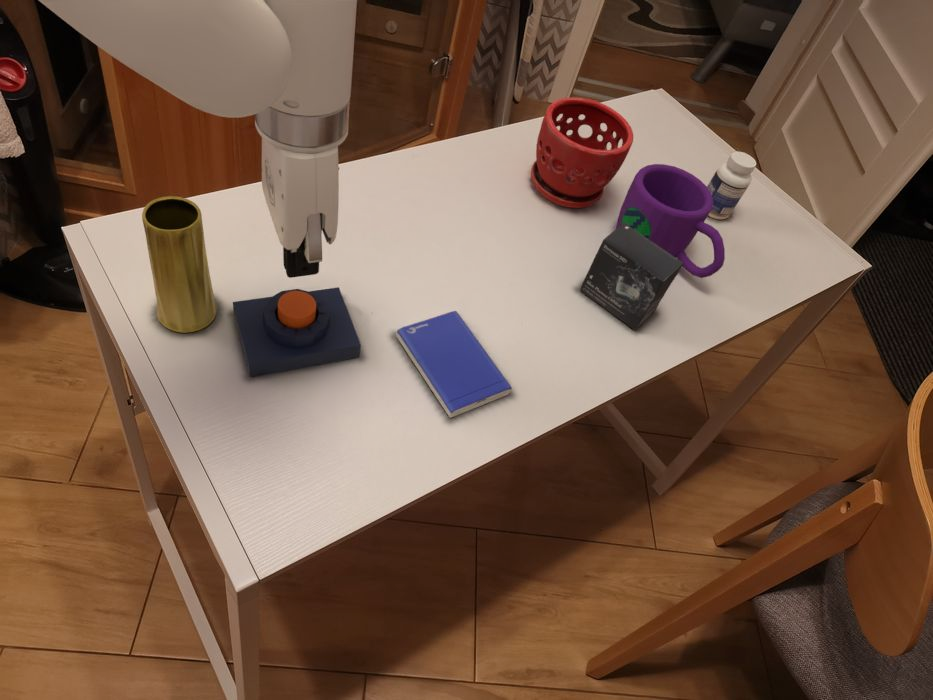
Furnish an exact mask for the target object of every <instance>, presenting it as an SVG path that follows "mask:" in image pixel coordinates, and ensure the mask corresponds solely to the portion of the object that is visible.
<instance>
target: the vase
mask: <svg viewBox="0 0 933 700" xmlns="http://www.w3.org/2000/svg"><path fill="white" fill-rule="evenodd" d="M202 216H203V215H202V211H201V209H200V208H199V206H198V205H197V203H195V201H192V200H190V199H188V198H185V197H182V196H175V195H174V196H173V195H168V196H167V195H166V196H162V197H161V196H160V197H158V198H155V199H152V200H150V201H149V202H148V203H147V204H146V205H145V206H144V207H143V210H142V213H141V220H142V224H143V227H144V228H143V229H144V234H145V239H146V245H147V251H148V257H149V264H150V269H151V274H152V280H153V287H154V293H155V298H156V305H157V309H156V315H157V319H158V321H159V322H160V323H161V325H163V326H164V327H165V328H166V329H168V330H170V331H173V332H177V333H183V334H185V333H186V334H187V333H192V332H198V331H200V330H203V329H205V328H206V327H208V326H209V325H211V324H212V322H213V321H214V320H215V318H216V316H217V304H216V301H215V297H214V296H215V295H214V291H213V290H214V289H213V284H212V278H211V273H210V267H209V261H208V255H207V248H206V242H205V232H204V226H203V217H202Z"/></svg>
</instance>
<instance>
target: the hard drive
mask: <svg viewBox="0 0 933 700" xmlns="http://www.w3.org/2000/svg"><path fill="white" fill-rule="evenodd" d="M457 311H458V310H452V311H450V312H445V313H443V314H440V315H437V316H434V317H431V318H428V319H425V320H422V321H417V322H415V323H412V324H408V325H406V326H402V327H399V328H397V330H396V334H395V336H396V339H397V340H398V341H399V342H400V344H401V346H402V347H403V349H404V350H405V351H406V353H407V355H408V357H409V358H410V360H411V361H412V363H413V364H414V365H415V367H416V368H417V370H418V372H419V373H420V375H421V376H422V378H423V379H424V381H425V383H426V384H427V385H428V387H429V389H430V390H431V391H432V393H433V395H434V396H435V398H436V399H437V401H438V402H439V404H440V405H441V407H442V408H443V410H444V411H445V413H446V414H447V416H448V417H449V419H451V418H454V417H456V416H459V415H461V414H464V413H466V412H469V411H471V410H474V409H476V408H479V407H481V406H483V405H485V404H489V403H490V402H493V401H496V400H498V399H501V398H503V397H506V396H507V395H509V394H511V391H512V388H513V387H512V385H511V384H510V383H509V381H508V380H507V379H506V378H505V376H504V375H503V373H502V372H501V371H500V369H499V368H498V366H497V365H496V363H495V362H494V361H493V360H492V358H491V357H490V355H489V354H488V353H487V351H486V350H485V348H484V347H483V346H482V344H481V342H479V340H478V338H477V337H476V336H475V334H474V333H473V331H472V330H471V329H470V328H469V325H467V324H466V322H465V320H464V319H463V318H462V317H461V315H460V314H459V312H457Z"/></svg>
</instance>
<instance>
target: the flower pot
mask: <svg viewBox="0 0 933 700" xmlns="http://www.w3.org/2000/svg"><path fill="white" fill-rule="evenodd" d="M560 115H561V118H560V119H559V120H558V118H559V116H560ZM582 115H583V116H584V118H583V119H580V116H582ZM569 119H571V121H570V122H568V120H569ZM601 124H605V125H606V130H603V129H602V128H601ZM582 126H589V127H590V128H591V135H590V136H587V137H583V136H581V135H580V133H579V128H580V127H582ZM558 127H559V129H558ZM568 131H572V132H571V134H568ZM614 133H615V137H614ZM599 136H601V137H602V139H601V140H599V138H598V137H599ZM621 140H622V143H621V146H620V147H619V143H620V141H621ZM633 142H634V132H633V129H632V127H631V125H630V124H629V122H628V121H627V120H626V118H624V117H623V115H622V114H620V113H619V112H618V111H616V110H615V109H614V108H611V107H610V106H608V105H606V104H604V103H602V102H599V101H597V100H593V99H588V98H586V97H585V98H584V97H564V98H563V97H562V98H559V99H557V100H555V101H553V102H552V103H551V104H549V106H548V107H547V108H546V110H545V113H544V116H543V119H542V121H541V125H540V129H539V132H538V135H537V141H536V148H535V149H536V150H535V159H536V160H535V161H534V162H533V164H532V166H531V168H530V178H531V181H532V184H533V185H534V187H535V189H536V190H537V191H538V192H539V193H540V194H541V196H543V198H545V199H547V200H548V201H550V202H551V203H554V204H556V205H558V206H562V207H566V208H571V209H572V208H573V209H581V208H588V207H590V206H593V205H594V204H596V203H597V202H599V201H600V200H601V198H602V197H603V195H604V193H605V187H606V186H607V185H608V184H609V183H610V182H611V181H612V180H613V179H614V177H616V175H617V173H618V172H619V171H620V169H621V167H622V165H623V164H624V162H625V161H626V158H627V156H628V154H629V152H630V150H631V147H632V145H633ZM608 144H610V145H611V147H610V149H608V147H607V146H608Z"/></svg>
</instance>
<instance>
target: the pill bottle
mask: <svg viewBox="0 0 933 700" xmlns="http://www.w3.org/2000/svg"><path fill="white" fill-rule="evenodd" d="M756 166H757V161H756V160H755V158H754V157H752V156H751V155H750V154H748V153H747V152H743V151H737V150H736V151H733V152H732V153H731V154H730V156H729V157H728V159H727V161H726V162H723V163H721V164H720V165H718V167H717V169H716V171H715V172H714V174H713V176H712V178H711V179H710V181H709V183H708V184H707V185H706V186H707V188H708V189H709V191H710V192H711V194H712V197H713V208H712V210H711V211H710V213H709V215H708V216H707V217H710V218H713V219H716V220H725V219H728V218H729V217H730V216H731V214H732V213H733V212H734V210H735V208H736V207H737V205H738V203H739V202H740V201H741V199H742V197H743V196H744V194H745V192H746V191H747V190H748V188H749V186H750V185H751V182H752V173H753V172H754V170H755V168H756Z"/></svg>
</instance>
